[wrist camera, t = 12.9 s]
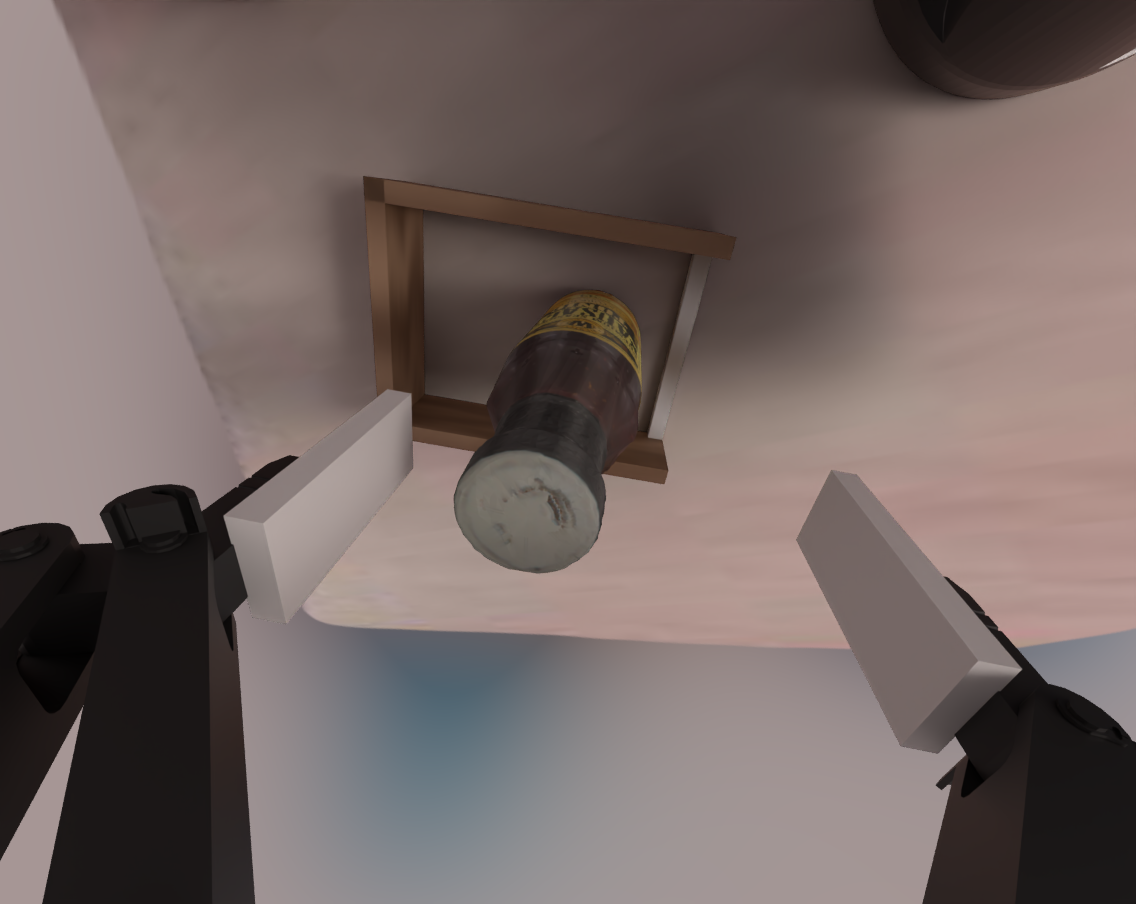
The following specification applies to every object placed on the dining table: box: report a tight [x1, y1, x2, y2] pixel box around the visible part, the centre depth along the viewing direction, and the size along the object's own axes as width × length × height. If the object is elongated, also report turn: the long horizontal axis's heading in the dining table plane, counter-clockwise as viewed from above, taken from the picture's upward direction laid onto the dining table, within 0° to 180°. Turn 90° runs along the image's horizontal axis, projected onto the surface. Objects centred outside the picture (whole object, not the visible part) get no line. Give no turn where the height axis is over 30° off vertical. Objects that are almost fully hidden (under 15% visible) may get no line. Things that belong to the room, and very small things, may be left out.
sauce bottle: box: [454, 290, 642, 573], centre depth 21 cm, size 6×6×20 cm
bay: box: [363, 176, 736, 484], centre depth 27 cm, size 14×18×5 cm
